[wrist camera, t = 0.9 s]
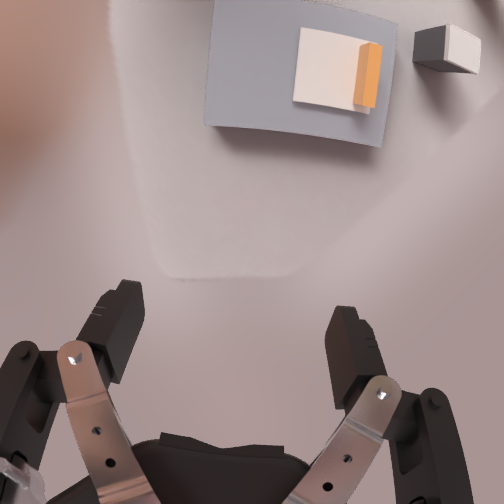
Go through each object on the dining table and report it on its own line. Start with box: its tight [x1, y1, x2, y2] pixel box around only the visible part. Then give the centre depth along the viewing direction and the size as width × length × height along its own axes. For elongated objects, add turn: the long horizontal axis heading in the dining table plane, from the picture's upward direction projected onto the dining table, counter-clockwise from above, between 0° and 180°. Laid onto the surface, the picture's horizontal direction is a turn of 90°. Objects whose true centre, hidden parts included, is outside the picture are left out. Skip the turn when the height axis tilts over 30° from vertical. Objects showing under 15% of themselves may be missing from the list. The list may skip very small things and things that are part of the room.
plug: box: [412, 24, 481, 75], centre depth 22 cm, size 4×4×8 cm
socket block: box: [204, 0, 398, 148], centre depth 26 cm, size 14×18×4 cm
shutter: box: [293, 27, 383, 114], centre depth 23 cm, size 8×8×4 cm
